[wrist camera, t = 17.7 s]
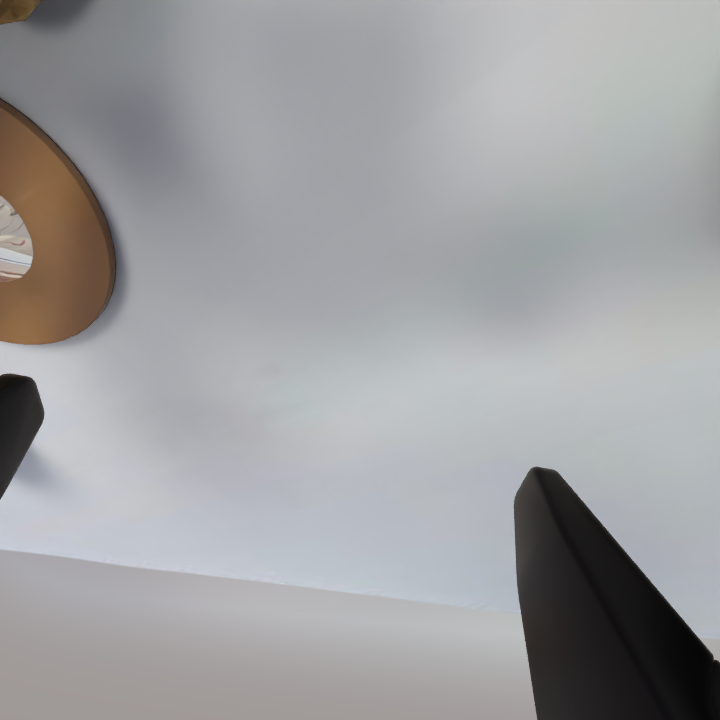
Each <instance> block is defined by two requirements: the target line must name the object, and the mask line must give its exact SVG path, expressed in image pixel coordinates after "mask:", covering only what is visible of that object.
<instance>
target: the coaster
mask: <svg viewBox="0 0 720 720" xmlns="http://www.w3.org/2000/svg"><path fill="white" fill-rule="evenodd" d="M0 195H1V196H2V197H3V198H4V199H5V200H6V201H8V202H9V203H10V205H11V206H12V207H13V208H14V210H15V211H16V212H17V214H18V215H19V216H20V217H21V219H22V220H23V222H24V224H25V226H26V228H27V230H28V232H29V235H30V237H31V241H32V247H33V254H34V255H33V259H32V263H31V267H30V269H29V270H28V271H27V272H26V273H25V274H24V275H23V276H22V277H21V278H18V279H16V280H13V281H10V282H0V341H4V342H8V343H17V344H47V343H54V342H58V341H62V340H65V339H68V338H70V337H72V336H75V335H77V334H79V333H80V332H82V331H83V330H85V329H86V328H87V327H88V326H90V325H91V324H92V323H93V322H94V321H95V320H96V319H97V318H98V317H99V315H100V314H101V313H102V311H103V310H104V308H105V307H106V305H107V303H108V301H109V298H110V296H111V294H112V290H113V285H114V281H115V256H114V247H113V243H112V239H111V235H110V231H109V228H108V226H107V223H106V220H105V217H104V215H103V212H102V210H101V208H100V206H99V204H98V202H97V200H96V198H95V196H94V194H93V193H92V191H91V190H90V188H89V186H88V185H87V183H86V182H85V180H84V178H83V177H82V175H81V174H80V173H79V172H78V170H77V169H76V168H75V166H74V165H73V164H72V162H71V161H70V160H69V158H68V157H67V156H66V155H65V154H64V153H63V152H62V151H61V150H60V148H59V147H58V146H57V145H56V144H55V143H54V142H53V141H52V140H51V139H50V138H49V137H48V136H47V135H46V134H45V133H44V132H43V131H41V130H40V129H39V128H38V127H37V126H36V125H35V124H34V123H33V122H31V121H30V120H29V119H27V118H26V117H25V116H24V115H22V114H21V113H20V112H18V111H17V110H16V109H14V108H13V107H12V106H10V105H9V104H7V103H5V102H4V101H2V100H1V99H0Z"/></svg>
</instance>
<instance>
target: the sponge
mask: <svg viewBox="0 0 720 720" xmlns="http://www.w3.org/2000/svg"><path fill="white" fill-rule="evenodd" d="M40 2H41V0H0V24H5V23H11V22H18V21H24V20H26V19H27V18H28V17H29V15H30V14H31V13H32V12H33V10H34V9H35V8H36V7H37V5H38V4H39V3H40Z"/></svg>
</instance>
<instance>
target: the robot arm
mask: <svg viewBox="0 0 720 720" xmlns="http://www.w3.org/2000/svg"><path fill="white" fill-rule="evenodd" d="M43 419H44V408H43V405H42V402H41V399H40V395H39V392H38V389H37V386H36V383H35V381H34V380H33V379H32V378H30V377H27V376H21V375H16V374H3V375H1V376H0V499H1V497H2V496H3V494H4V492H5V491H6V489H7V487H8V485H9V484H10V482H11V480H12V478H13V476H14V474H15V473H16V471H17V469H18V467H19V465H20V463H21V462H22V460H23V458H24V456H25V454H26V452H27V451H28V449H29V447H30V445H31V443H32V441H33V439H34V438H35V436H36V434H37V432H38V430H39V428H40V427H41V425H42V422H43ZM514 520H515V545H516V571H517V586H518V594H519V602H520V608H521V615H522V622H523V628H524V634H525V641H526V647H527V654H528V661H529V667H530V674H531V681H532V687H533V693H534V701H535V707H536V713H537V720H720V662H719V661H717V660H714V658H713V655H712V653H711V652H710V651H709V650H708V649H707V647H706V646H705V645H704V644H703V643H702V641H701V640H700V639H699V638H698V637H697V636H696V634H695V633H694V632H693V631H692V630H691V628H690V627H689V626H688V625H687V624H686V623H685V621H684V620H683V619H682V618H681V617H680V616H679V614H678V613H677V612H676V611H675V610H674V608H673V607H672V606H671V605H670V604H669V603H668V601H667V600H666V599H665V598H664V597H663V595H662V594H661V593H660V592H659V591H658V590H657V588H656V587H655V586H654V585H653V584H652V583H651V581H650V580H649V579H648V578H647V577H646V575H645V574H644V573H643V572H642V571H641V570H640V568H639V567H638V566H637V565H636V564H635V563H634V561H633V560H632V559H631V558H630V557H629V555H628V554H627V553H626V552H625V551H624V550H623V548H622V547H621V546H620V545H619V544H618V542H617V541H616V540H615V539H614V538H613V537H612V535H611V534H610V533H609V532H608V531H607V530H606V528H605V527H604V526H603V525H602V524H601V522H600V521H599V520H598V519H597V518H596V517H595V515H594V514H593V513H592V512H591V511H590V509H589V508H588V507H587V506H586V505H585V504H584V502H583V501H582V500H581V499H580V498H579V497H578V495H577V494H576V493H575V492H574V491H573V489H572V488H571V487H570V486H569V485H568V484H567V482H566V481H565V480H564V479H563V478H562V476H561V475H560V474H559V473H558V472H556V471H555V470H552V469H547V468H541V467H533V468H531V469H530V471H529V472H528V474H527V476H526V477H525V479H524V481H523V483H522V484H521V486H520V488H519V490H518V491H517V493H516V496H515V500H514Z"/></svg>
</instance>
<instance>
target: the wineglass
mask: <svg viewBox="0 0 720 720" xmlns="http://www.w3.org/2000/svg"><path fill="white" fill-rule="evenodd" d="M33 255H34V254H33V247H32V241H31V237H30V235H29V232H28V230H27V228H26V226H25V224H24V222H23V220H22V219H21V217H20V216H19V215H18V214H17V212H16V211H15V210H14V208H13V207H12V206H11V205H10V203H9V202H8V201H6V200H5V199H4V198H3V197H2V196H1V195H0V282H10V281H13V280H16V279H18V278H21V277H22V276H23V275H24V274H25V273H26V272H27V271H28V270H29V269H30V267H31V263H32V259H33Z"/></svg>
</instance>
